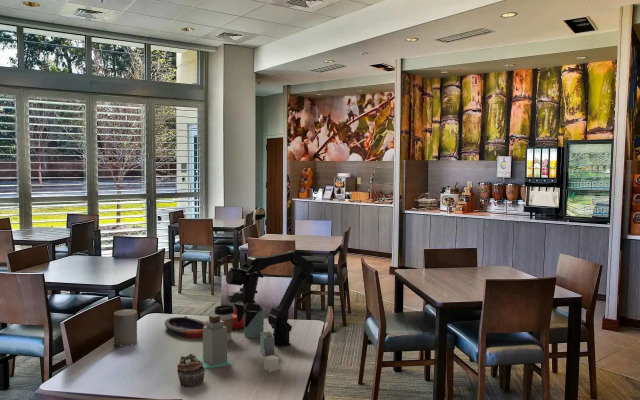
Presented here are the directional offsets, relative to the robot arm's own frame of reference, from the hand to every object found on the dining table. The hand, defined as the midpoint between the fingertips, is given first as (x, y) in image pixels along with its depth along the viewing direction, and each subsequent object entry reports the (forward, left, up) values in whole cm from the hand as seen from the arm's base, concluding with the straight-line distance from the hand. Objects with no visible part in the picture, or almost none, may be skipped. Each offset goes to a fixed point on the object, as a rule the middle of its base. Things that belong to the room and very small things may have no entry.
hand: (242, 324), depth 213 cm
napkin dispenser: (-9, +5, -12) cm, 16 cm away
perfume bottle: (+12, +7, -12) cm, 18 cm away
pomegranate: (-5, -36, -12) cm, 38 cm away
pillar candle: (+45, -32, -12) cm, 56 cm away
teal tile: (+13, +6, -12) cm, 19 cm away
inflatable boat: (+18, -37, -12) cm, 42 cm away
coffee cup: (+4, -20, -12) cm, 23 cm away
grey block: (-6, +21, -12) cm, 25 cm away
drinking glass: (-10, -22, -12) cm, 27 cm away
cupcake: (+24, +23, -12) cm, 35 cm away
